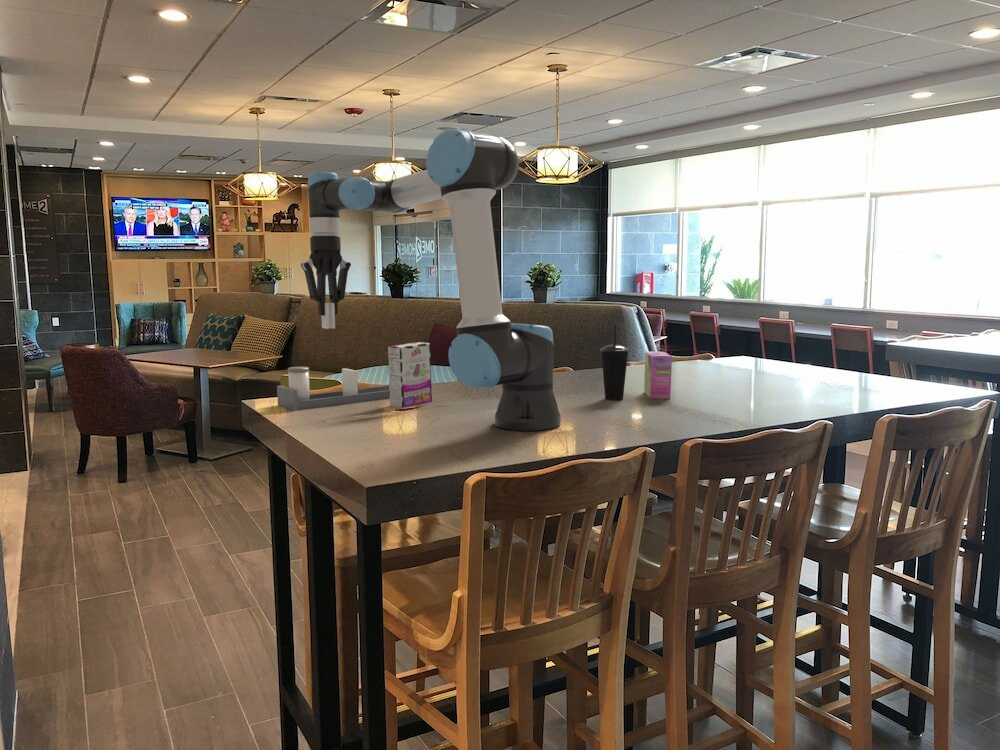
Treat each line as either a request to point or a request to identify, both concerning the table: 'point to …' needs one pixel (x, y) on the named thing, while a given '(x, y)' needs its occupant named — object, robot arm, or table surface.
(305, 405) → the lane
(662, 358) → the box
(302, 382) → the jar
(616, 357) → the drinking cup
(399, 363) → the candy bar box
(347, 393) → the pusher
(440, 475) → the table surface
